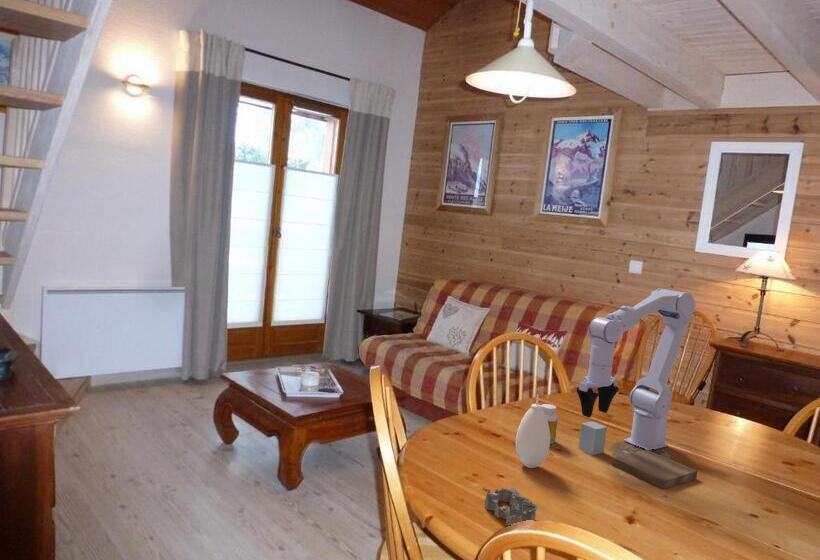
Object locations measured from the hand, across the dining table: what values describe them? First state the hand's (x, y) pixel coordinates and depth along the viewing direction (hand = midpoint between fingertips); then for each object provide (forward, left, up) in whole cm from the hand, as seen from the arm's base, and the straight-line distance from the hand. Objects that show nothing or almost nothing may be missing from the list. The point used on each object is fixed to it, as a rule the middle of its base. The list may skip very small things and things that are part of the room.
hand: (594, 414), depth 155 cm
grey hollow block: (+44, +16, -11) cm, 48 cm away
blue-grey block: (-1, 0, -10) cm, 10 cm away
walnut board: (-5, +16, -10) cm, 19 cm away
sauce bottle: (+23, +1, -10) cm, 25 cm away
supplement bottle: (+6, -10, -11) cm, 16 cm away
